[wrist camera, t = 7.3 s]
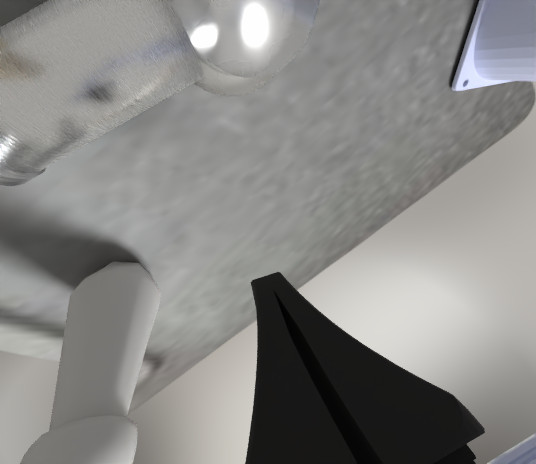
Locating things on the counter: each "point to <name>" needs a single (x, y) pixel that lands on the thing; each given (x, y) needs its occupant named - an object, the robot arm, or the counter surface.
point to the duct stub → (229, 82)
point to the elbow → (125, 65)
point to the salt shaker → (100, 369)
